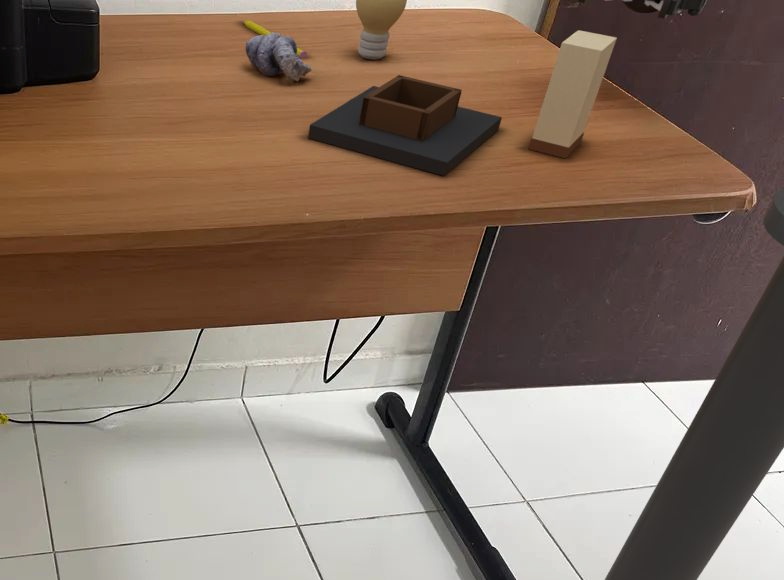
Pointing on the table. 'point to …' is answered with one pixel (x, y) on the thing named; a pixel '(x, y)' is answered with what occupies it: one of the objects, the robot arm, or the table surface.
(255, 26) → the pencil
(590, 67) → the cream rectangular block
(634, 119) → the table surface
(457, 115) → the square socket base
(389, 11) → the light bulb
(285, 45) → the grey knotted piece
